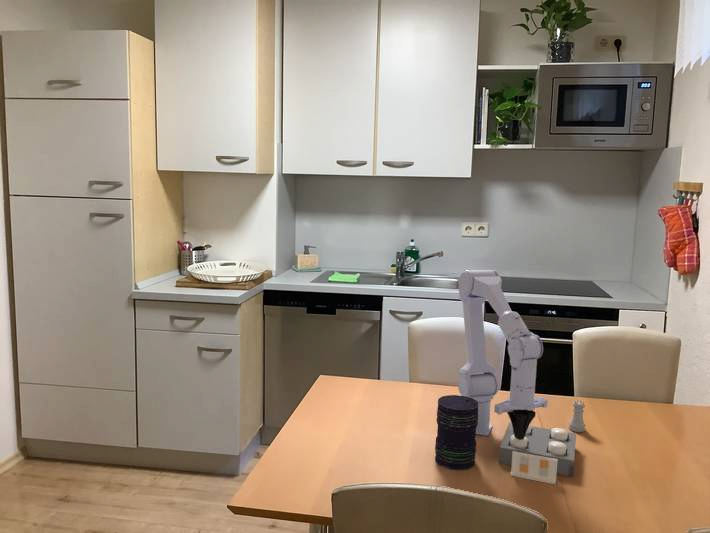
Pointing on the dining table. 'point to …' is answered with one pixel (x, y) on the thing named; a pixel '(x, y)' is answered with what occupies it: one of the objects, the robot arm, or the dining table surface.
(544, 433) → the button board
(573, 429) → the rook chess piece
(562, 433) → the button back right
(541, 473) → the pattern card
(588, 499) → the dining table surface
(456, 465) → the storage jar
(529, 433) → the button back left
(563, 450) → the button front right
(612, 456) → the dining table surface
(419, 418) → the dining table surface
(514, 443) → the button front left
